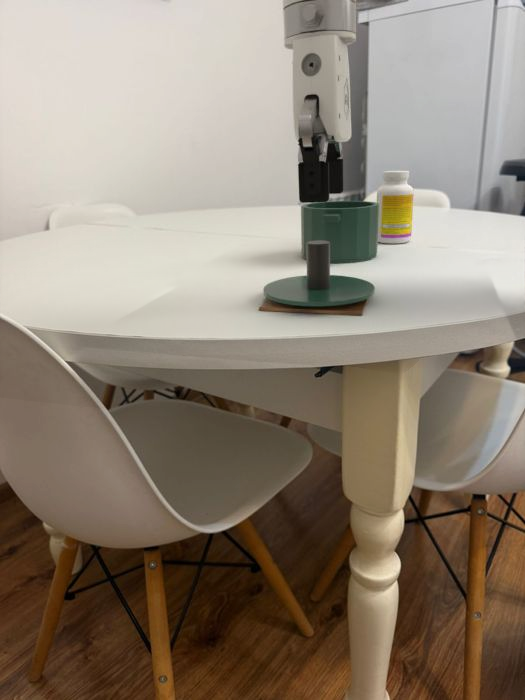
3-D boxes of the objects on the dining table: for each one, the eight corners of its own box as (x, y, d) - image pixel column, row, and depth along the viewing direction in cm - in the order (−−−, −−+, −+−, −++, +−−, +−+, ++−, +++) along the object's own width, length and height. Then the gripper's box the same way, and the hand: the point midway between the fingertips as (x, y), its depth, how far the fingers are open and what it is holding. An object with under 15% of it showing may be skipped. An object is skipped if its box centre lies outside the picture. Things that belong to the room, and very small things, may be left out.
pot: (381, 246, 98) (383, 198, 95) (370, 267, 82) (372, 210, 79) (313, 246, 102) (313, 199, 99) (290, 265, 86) (289, 211, 83)
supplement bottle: (417, 242, 101) (421, 170, 96) (385, 245, 99) (388, 172, 95) (400, 237, 107) (403, 169, 102) (369, 240, 105) (371, 171, 101)
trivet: (373, 288, 70) (373, 285, 70) (362, 315, 59) (362, 311, 59) (284, 285, 73) (284, 282, 73) (258, 310, 63) (258, 307, 63)
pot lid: (379, 284, 70) (381, 233, 68) (367, 314, 58) (369, 253, 56) (279, 281, 74) (278, 233, 72) (249, 308, 62) (246, 251, 60)
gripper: (342, 5, 47) (343, 205, 53) (365, 37, 63) (364, 189, 69) (261, 16, 50) (271, 207, 56) (302, 45, 65) (306, 192, 71)
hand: (322, 197), depth 62 cm, fingers open, 9 cm apart
